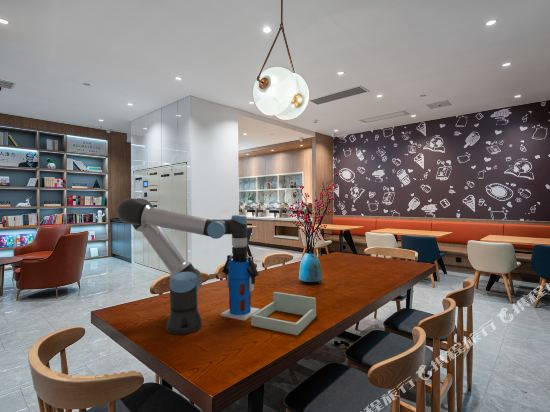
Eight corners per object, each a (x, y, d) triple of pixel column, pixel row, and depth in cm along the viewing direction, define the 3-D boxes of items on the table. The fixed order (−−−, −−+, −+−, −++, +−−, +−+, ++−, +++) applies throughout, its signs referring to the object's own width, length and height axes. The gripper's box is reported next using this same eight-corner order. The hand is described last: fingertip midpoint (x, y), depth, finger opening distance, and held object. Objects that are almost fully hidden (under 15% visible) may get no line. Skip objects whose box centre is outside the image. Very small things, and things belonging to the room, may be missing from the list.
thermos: (254, 308, 152) (253, 259, 152) (246, 316, 142) (245, 263, 141) (234, 306, 155) (234, 258, 155) (225, 313, 145) (224, 262, 144)
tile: (244, 320, 139) (244, 318, 139) (220, 315, 145) (220, 313, 145) (259, 310, 151) (259, 308, 151) (237, 306, 158) (237, 304, 158)
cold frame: (297, 335, 123) (297, 313, 123) (251, 325, 133) (251, 305, 133) (316, 316, 143) (315, 297, 142) (274, 309, 153) (274, 291, 153)
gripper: (265, 246, 145) (265, 289, 146) (224, 243, 157) (224, 283, 157) (257, 248, 139) (257, 294, 139) (214, 245, 150) (215, 287, 151)
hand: (240, 288), depth 148 cm, fingers open, 13 cm apart
